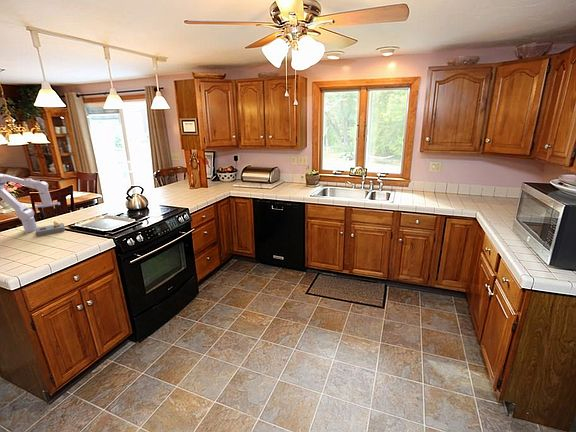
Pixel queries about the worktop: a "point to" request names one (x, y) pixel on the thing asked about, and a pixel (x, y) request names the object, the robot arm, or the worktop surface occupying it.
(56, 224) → the brass pin
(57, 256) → the worktop surface
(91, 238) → the worktop surface
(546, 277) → the worktop surface
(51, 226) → the bore block
